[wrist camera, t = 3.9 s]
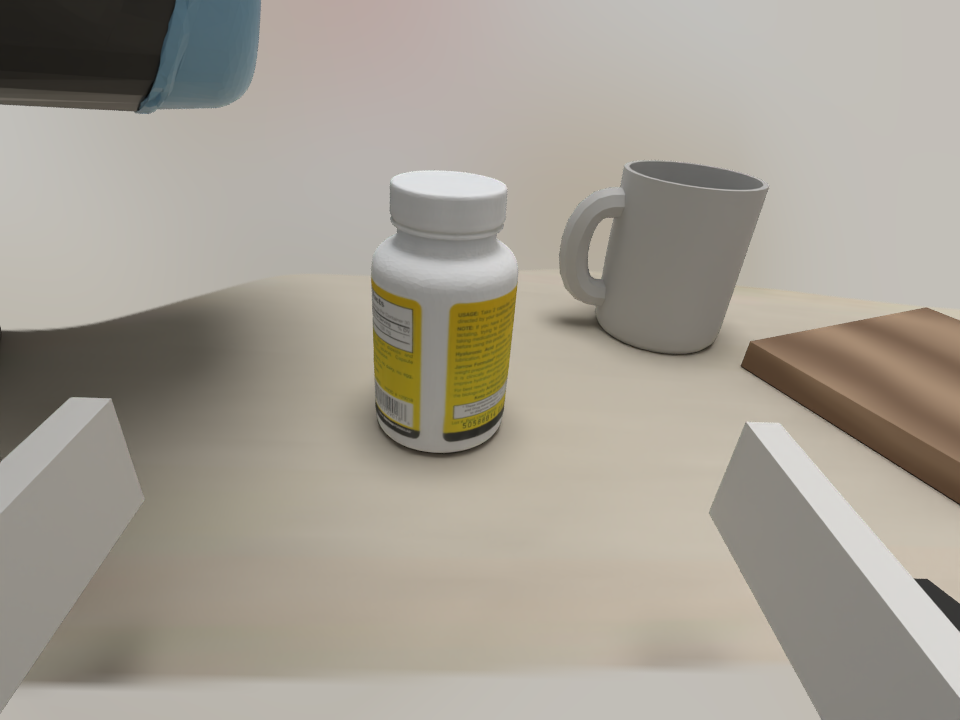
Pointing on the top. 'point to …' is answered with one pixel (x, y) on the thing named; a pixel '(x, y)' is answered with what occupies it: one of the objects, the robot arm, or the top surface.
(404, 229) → the supplement bottle
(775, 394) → the top surface
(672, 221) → the cup
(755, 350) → the walnut board
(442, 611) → the top surface
